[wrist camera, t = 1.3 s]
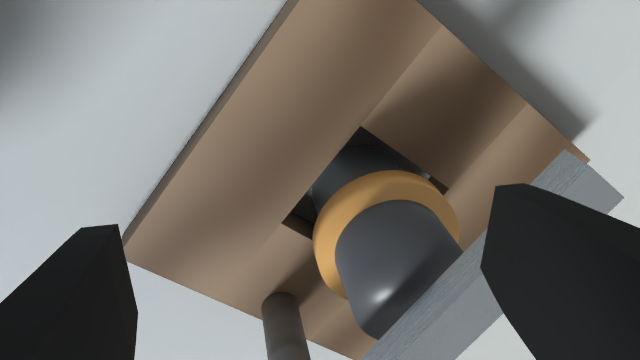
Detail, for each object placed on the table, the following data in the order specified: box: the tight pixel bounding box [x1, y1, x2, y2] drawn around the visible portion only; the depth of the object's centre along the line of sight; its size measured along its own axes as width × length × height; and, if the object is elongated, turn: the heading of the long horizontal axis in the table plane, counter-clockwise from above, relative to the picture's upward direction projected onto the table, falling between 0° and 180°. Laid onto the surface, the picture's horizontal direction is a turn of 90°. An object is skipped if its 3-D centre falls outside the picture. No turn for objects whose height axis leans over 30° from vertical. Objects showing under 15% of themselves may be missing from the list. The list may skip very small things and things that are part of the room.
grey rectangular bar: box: [360, 149, 625, 360], centre depth 14 cm, size 13×2×1 cm, turn 142°
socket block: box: [122, 0, 590, 360], centre depth 18 cm, size 14×14×8 cm
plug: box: [311, 145, 464, 340], centre depth 19 cm, size 5×5×7 cm
